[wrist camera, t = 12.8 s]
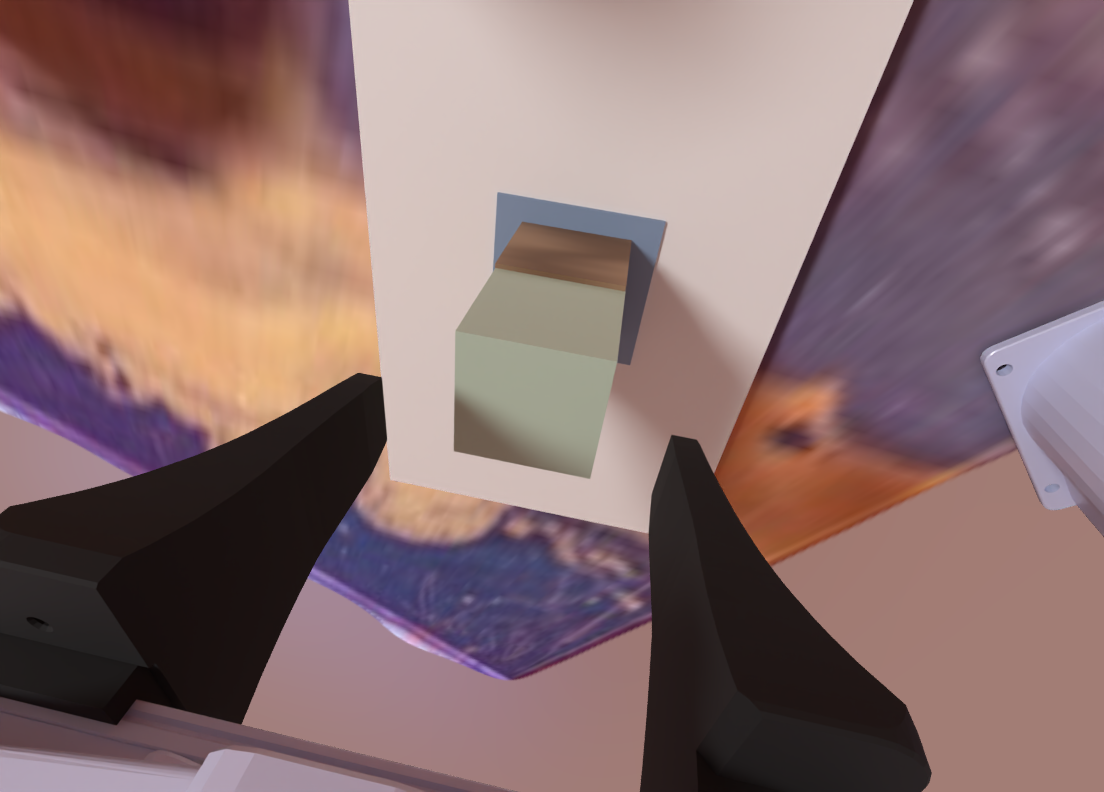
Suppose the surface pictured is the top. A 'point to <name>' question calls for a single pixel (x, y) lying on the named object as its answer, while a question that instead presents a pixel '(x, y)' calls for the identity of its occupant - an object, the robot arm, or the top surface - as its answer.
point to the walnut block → (568, 256)
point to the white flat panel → (602, 200)
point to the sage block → (536, 371)
